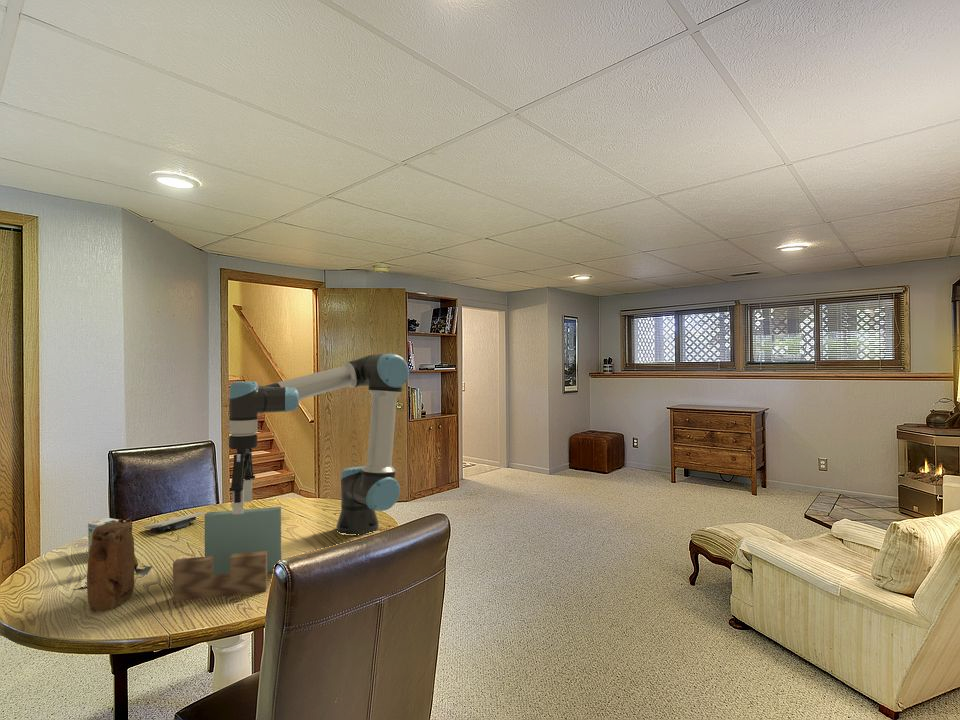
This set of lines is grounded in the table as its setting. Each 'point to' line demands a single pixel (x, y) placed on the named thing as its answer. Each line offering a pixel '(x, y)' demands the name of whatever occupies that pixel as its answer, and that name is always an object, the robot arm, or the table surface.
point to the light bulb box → (94, 525)
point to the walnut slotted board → (219, 576)
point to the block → (110, 566)
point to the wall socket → (174, 522)
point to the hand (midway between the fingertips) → (242, 507)
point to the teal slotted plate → (242, 536)
